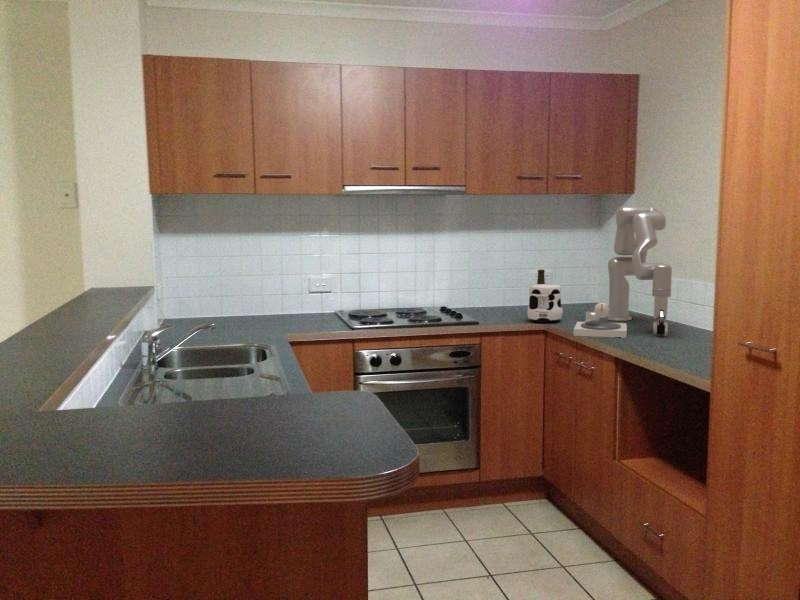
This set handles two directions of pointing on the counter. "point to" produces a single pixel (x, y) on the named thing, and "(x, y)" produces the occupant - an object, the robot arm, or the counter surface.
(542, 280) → the beer bottle
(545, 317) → the milk container
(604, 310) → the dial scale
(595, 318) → the cylinder
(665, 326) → the cylinder
